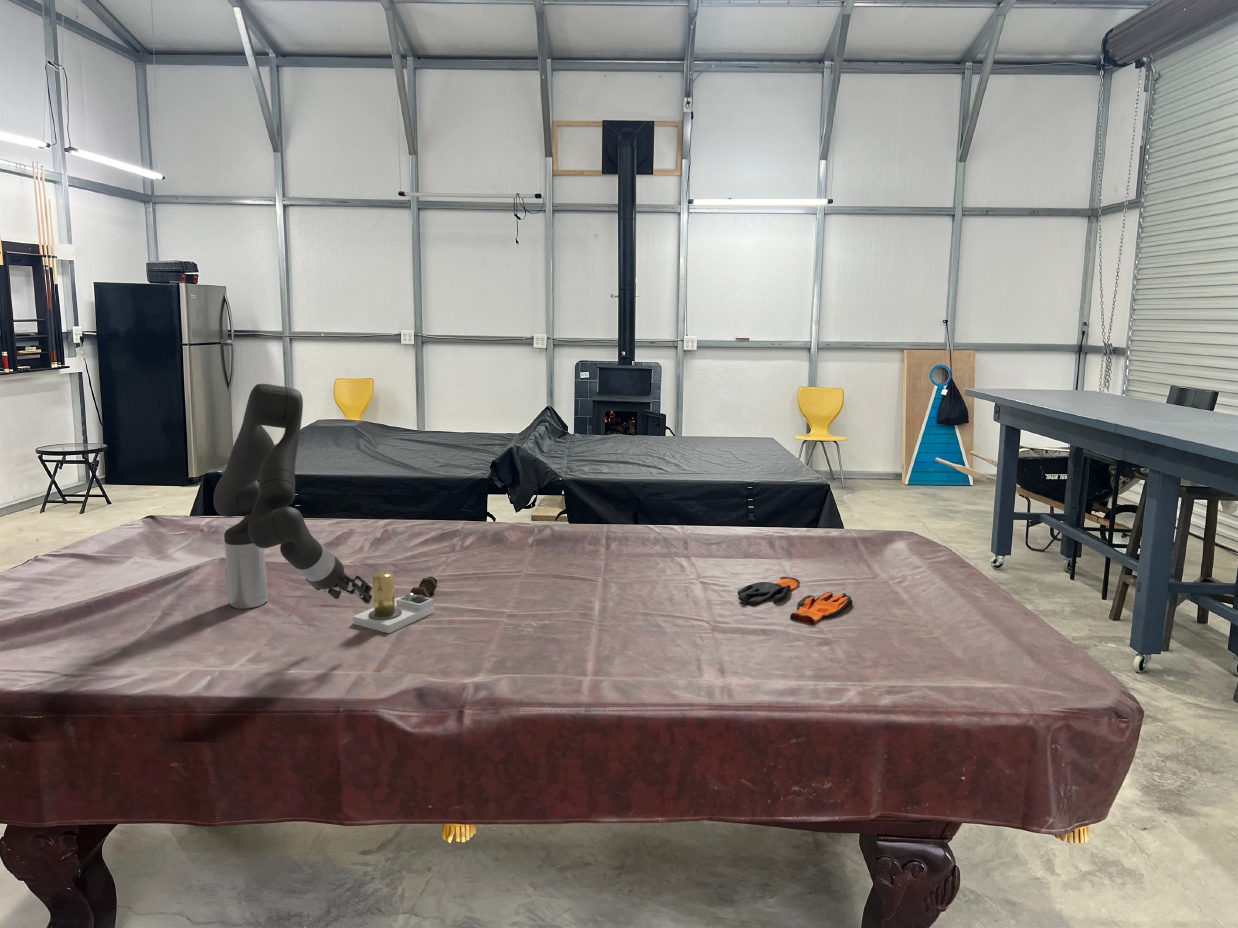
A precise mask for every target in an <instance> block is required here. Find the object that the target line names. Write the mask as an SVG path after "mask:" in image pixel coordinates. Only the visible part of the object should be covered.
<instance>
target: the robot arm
mask: <svg viewBox="0 0 1238 928" xmlns="http://www.w3.org/2000/svg"><path fill="white" fill-rule="evenodd" d="M303 406H304V400H303V395H302V393H301V391H300V390H298V389H296V388H292V387H288V386H287V387H286V386H282V385H276V384H269V383H258V384H256V385H254V386H253V388H252V389H251V391H250V393H249V397H248V400H247V404H246V407H245V411H244V416H243V420H242V424H241V427H240V430H239V432H238V434H237V437H236V439H235V441H234V444H233V446H232V449H231V452H230V456H229V459H228V462H227V465H226V468H225V470H224V472H223V473H222V475H221V477H220V478H219V480H218V481H217V483H216V485H215V489H214V492H213V506H214V509H215V511H216V513H217V514H218V515H220V517H225V518H233V517H240V516H244V517H243V518H242V519H241V520H240V522H238V523H236V524H234V525H233V526H231V527H229V528H227V529H226V530H225V531H224V533H223V539H224V549H225V560H226V568H225V570H224V573H225V582H226V583H225V584H226V593H227V603H228V602H230V603H229V605H231V606H232V608H233V607H234V609H240V610H242V609H244V610H245V609H251V608H252V609H253V608H256V607H261V606H263V605H264V604H263V603H265V602H266V601H267V600H268V601H269V595H268V594H269V593H268V581H267V580H268V579H267V568H266V555H265V554H266V553H265V549H269V548H272V547H276V546H278V545H280V547H279V551H280V554H281V555H282V557H283V558H284V560H286V561H287V562H289V564H291V565H292V566H293V567H294V568H295V569H296V571H297V572H298V573H299V574H300V575H301V576H302V577H303V578H305V579H304V580H305V581H306V582H307V583H308V584H309V585H311V586H312V587H313V588H314V589H315V590H316V591H321V590H322V592H324V593H328V594H329V595H330V596H331V597H332V598H333V599H335V600H338V599H340V597H341V595H342V593H344V594H347V595H349V596H351V595H354V596H356V597H357V598H359V599H360V600H361V601H362V602H363V603H364V604H368V605H369V604H370V603H371V601H372V598H373V594H372V593H371V591H372V590H373V586H371V585H370V584H369V583H368V582H366V580H364V579H363V578H362V577H361V576H359V575H356V576H355V578H353V577H351V576H350V575H349V574H348V573H346V572H345V569H344V568H345V567H344V564H343V563H342V562H341V561H340V559H339V558H338V557H337V556H335V554H333V553H332V552H331V551H330V550H329V549H328V548H327V547H325V546H324V545H323V544H321V543H320V542H319V540H317V539H316V538H315V537H314V536H313V535H312V534H311V532H310V530H309V528H308V526H307V524H306V522H305V519H304V517H303V514H302V513H301V511H300V510H298V509H296V508H294V507H292V506H290V505H291V504H292V503H293V502H294V501H295V496H296V461H297V454H298V449H299V444H300V443H299V442H300V436H301V427H302V420H303V409H304V407H303ZM264 426H267V427H272V428H273V427H274V428H280V429H284V434H283V435H282V437H281V439H280V440H279V441H278V442H277V444H276V445H275V443H274V441H273V438H272V437H271V435H270V434H269V433H268V432H267V430H266V429H265V428H264ZM350 585H351V587H350V589H349V586H350ZM262 604H263V605H262ZM265 604H266V603H265ZM231 606H230V607H231Z"/></svg>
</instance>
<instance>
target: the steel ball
mask: <svg viewBox="0 0 1238 928" xmlns="http://www.w3.org/2000/svg"><path fill="white" fill-rule="evenodd" d="M415 597H416V596H415V595H414V594H413V593H410V592H406V594H405V595H404V600H405V601H410V602H414V598H415Z"/></svg>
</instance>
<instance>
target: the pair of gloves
mask: <svg viewBox="0 0 1238 928" xmlns="http://www.w3.org/2000/svg"><path fill="white" fill-rule="evenodd" d="M800 584H801V582H800V580H798V578H796V577H790V576H789V577H788V576H781V577H780V578H779V580H778V581H776V582H771V581H759V582H755V583H751V584H748V585H746V586H745V587H742V588H739V590H738V591H737V595H738V600H739V601H740V602H741V603H742V604H745V605H752V606H755V605H758V604H759V603H760V604H761V603H762V602H764V601H767V600H768V599H769V598H771V597H772V596H773V595H774V594H776V593H778V594H777V595H774V598H773V599H772V602H773V603H778V602H779V601H781V600H783V599H785V598H787V597H788V596H789V593H790V591H792V590H795V589H796V590H797V588H798V587H799V586H800ZM852 604H853V599H852V597H851V596H850V595H848V594H846V593H845V592H841V593H839V594H837V595H836V594H835V595H834V593H833V592H831V591H826V592H824V593H823V594H821V595H820V596H818V597H817V598H816V596H815V595H810V594H808V595H806V596H803V597H802V598H801V599H800V600H799V601H797V605H796V610H797V611H795V612H792V613H791V614H790V616H789V619H790V620H792V621H801V622H802V623H804V624H810V625H815V623H817V622H819V621H820V620H821V619H829V618H833V617H835V616H837V615H838V614H839V613H841V612H842V611H843V610H845V608H849V607H850V606H851V605H852ZM810 622H811V623H810Z"/></svg>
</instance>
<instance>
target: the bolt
mask: <svg viewBox="0 0 1238 928" xmlns="http://www.w3.org/2000/svg"><path fill="white" fill-rule="evenodd" d="M437 587H438V579H436V578H435V577H434V576H428V577H423V578H422V580H421V581H420V583H419V585H418V586H416V587H411V589H410V591H409V593H413V594H414V595H423V596H424V597H427V598H431V596H430V595H433V594H434V593H435V591H436V589H437Z"/></svg>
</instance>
